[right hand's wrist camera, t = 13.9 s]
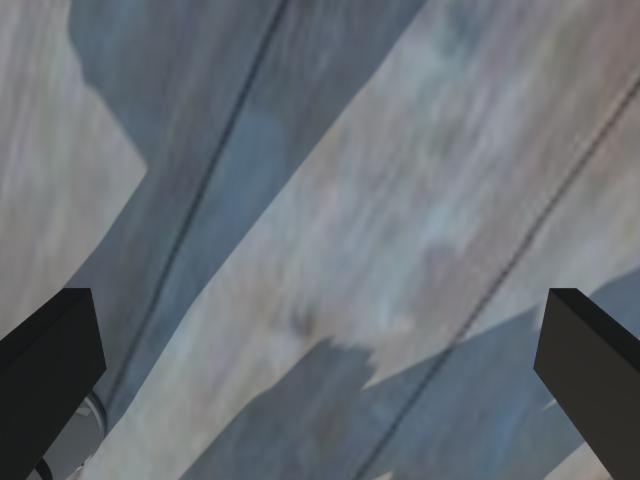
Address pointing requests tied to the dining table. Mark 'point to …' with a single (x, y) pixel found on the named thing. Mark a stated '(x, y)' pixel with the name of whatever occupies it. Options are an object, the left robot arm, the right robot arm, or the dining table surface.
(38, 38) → the dining table surface
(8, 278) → the dining table surface
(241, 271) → the dining table surface
